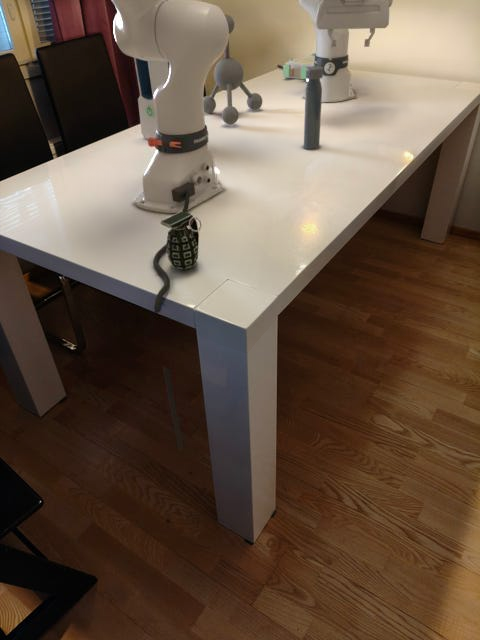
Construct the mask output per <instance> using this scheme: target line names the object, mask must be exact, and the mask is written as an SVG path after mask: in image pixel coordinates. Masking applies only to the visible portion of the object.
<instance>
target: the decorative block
mask: <svg viewBox="0 0 480 640" xmlns="http://www.w3.org/2000/svg"><path fill="white" fill-rule="evenodd" d="M315 55H316V52H314V53H312V54H308V55H303V56H300V57H298V58H294V59H293V58H289V59H287V60H288V61H286V62H285V63H284V64H283V65H282V66H283V68H282V77H283V78H288V79H297V80H306V79H307V78H306V70H307V67H311V66H314V59H315Z"/></svg>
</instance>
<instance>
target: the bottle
mask: <svg viewBox="0 0 480 640" xmlns="http://www.w3.org/2000/svg"><path fill="white" fill-rule="evenodd" d="M304 94H305V98H304V126H303V149H304V150H305V149H306V150H311V151H313V150H317V149H320V138H321V119H322V103H323V102H322V85H321V81H320V79H308V81H307V83H306V86H305V93H304Z"/></svg>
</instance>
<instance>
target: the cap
mask: <svg viewBox="0 0 480 640" xmlns="http://www.w3.org/2000/svg"><path fill="white" fill-rule="evenodd" d="M322 77H323V67H320V66H311V67H307V70H306V78H307V79H320V78H322Z"/></svg>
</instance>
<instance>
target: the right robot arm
mask: <svg viewBox="0 0 480 640" xmlns="http://www.w3.org/2000/svg"><path fill="white" fill-rule="evenodd" d="M393 1H394V0H297V2H298V4H299V5H300V7H301V8H302V9H303V10H304V12H306V13H307V14H308V15H309V17H310V19H311V20H312V23H313V25H314V30H315V43H316V44H315V49H316V50H315V53H316V55H315V59H314V66H320V67H323V77H322V78H320V81H321V85H322V102H321V103H337V102H343V101H346V100H351V99H355V98H356V94H355V92H354V91H353V90H352V88H351V87H352V83H351V82H352V72H351V71H350V70H349V69H348V66H349V61H350V60H349V54H348V52H349V40H350V39H349V38H350V30H360V29H361V30H362V29H363V30H365V29H368V30H369V33H370V34H369V36H368V38H364V44H363V47H364V48H370V45H371V40H372V39H373V36H374V35H375V34H376V29H386V28H387V27H388V26H389V24H390V7H391V6H392V5H393ZM277 67H278V68H280V69H283V65H280V64H277ZM305 80H306V81H305V82H308V79H305ZM303 98H304V99H305V93H304V94H303Z"/></svg>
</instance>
